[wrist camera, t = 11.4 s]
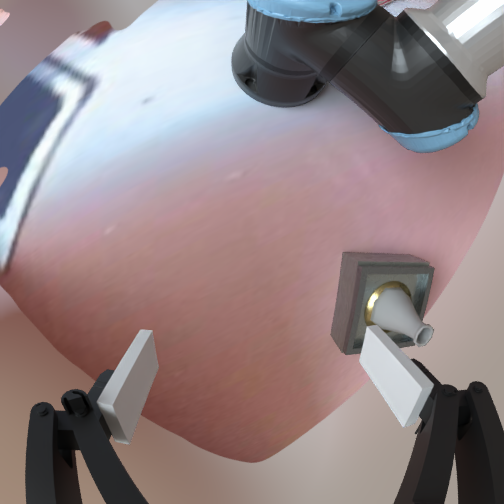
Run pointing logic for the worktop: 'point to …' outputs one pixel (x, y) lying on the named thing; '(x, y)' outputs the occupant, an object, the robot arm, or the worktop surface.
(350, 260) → the grey boxy piece
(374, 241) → the worktop surface
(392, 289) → the flask
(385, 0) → the dish towel
